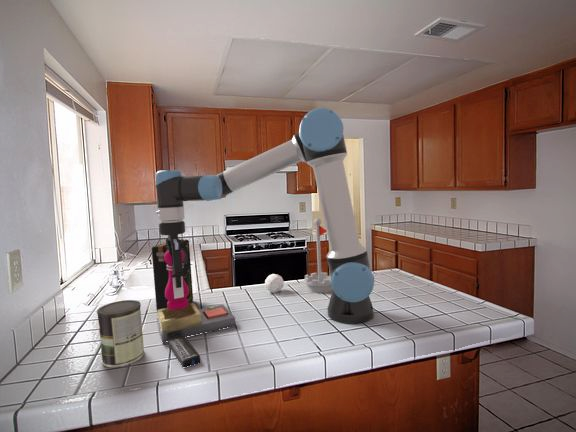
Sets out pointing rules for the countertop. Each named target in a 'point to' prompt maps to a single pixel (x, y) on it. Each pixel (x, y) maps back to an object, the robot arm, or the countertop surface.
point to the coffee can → (120, 333)
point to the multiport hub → (184, 351)
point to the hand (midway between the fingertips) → (177, 293)
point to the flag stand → (322, 280)
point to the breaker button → (215, 313)
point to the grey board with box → (190, 322)
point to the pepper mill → (169, 291)
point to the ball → (274, 283)
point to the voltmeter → (163, 275)
